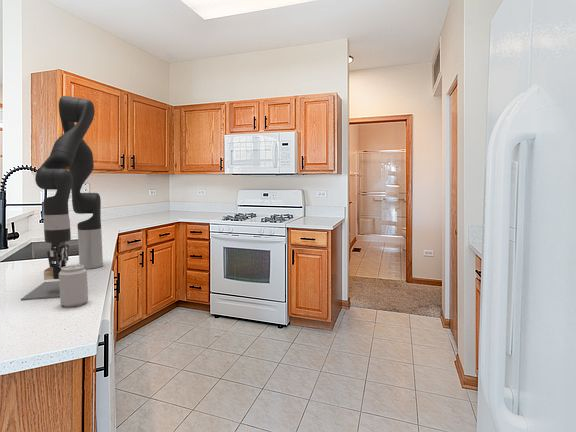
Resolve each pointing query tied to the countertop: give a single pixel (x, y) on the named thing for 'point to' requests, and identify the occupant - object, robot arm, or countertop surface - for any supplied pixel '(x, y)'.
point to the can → (73, 285)
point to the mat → (44, 291)
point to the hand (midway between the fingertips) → (60, 276)
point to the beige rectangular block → (48, 274)
